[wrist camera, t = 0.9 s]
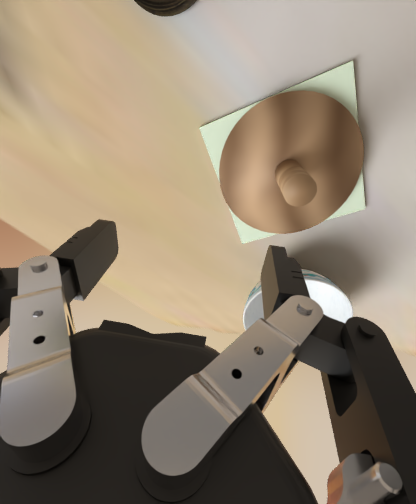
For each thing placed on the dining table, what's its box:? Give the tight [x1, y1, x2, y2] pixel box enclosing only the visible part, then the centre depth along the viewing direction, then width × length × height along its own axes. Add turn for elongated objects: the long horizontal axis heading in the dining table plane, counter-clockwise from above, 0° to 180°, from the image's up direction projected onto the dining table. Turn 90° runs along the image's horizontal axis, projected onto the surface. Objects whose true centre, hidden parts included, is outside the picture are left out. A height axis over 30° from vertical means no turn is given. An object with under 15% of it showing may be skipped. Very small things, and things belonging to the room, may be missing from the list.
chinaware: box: [243, 269, 353, 330], centre depth 39 cm, size 15×15×8 cm
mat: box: [199, 61, 365, 244], centre depth 32 cm, size 17×17×1 cm
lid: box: [219, 90, 364, 234], centre depth 28 cm, size 17×17×8 cm
